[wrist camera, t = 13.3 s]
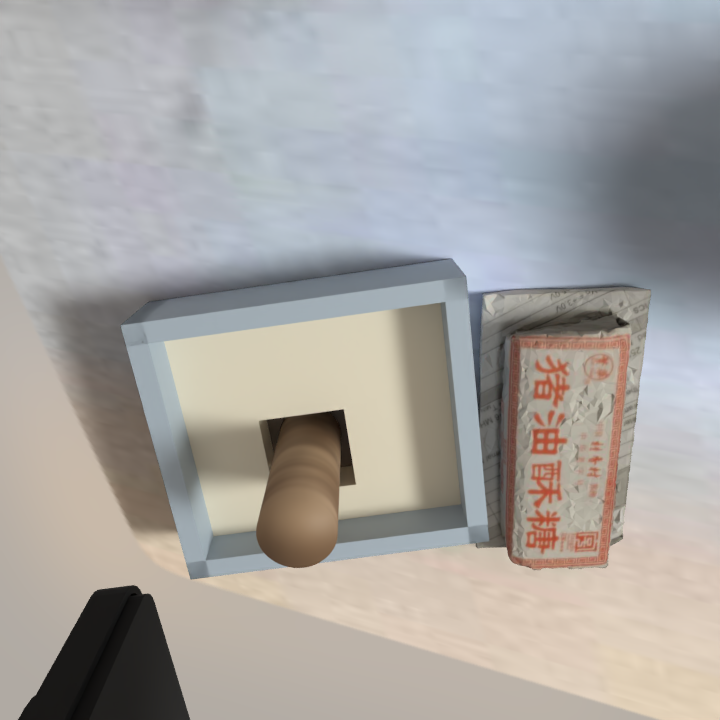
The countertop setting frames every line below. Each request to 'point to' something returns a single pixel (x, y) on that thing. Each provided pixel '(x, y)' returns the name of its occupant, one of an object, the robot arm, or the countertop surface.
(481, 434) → the packaged product
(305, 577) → the countertop surface
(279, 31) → the countertop surface
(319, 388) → the box
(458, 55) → the countertop surface
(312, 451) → the dowel
